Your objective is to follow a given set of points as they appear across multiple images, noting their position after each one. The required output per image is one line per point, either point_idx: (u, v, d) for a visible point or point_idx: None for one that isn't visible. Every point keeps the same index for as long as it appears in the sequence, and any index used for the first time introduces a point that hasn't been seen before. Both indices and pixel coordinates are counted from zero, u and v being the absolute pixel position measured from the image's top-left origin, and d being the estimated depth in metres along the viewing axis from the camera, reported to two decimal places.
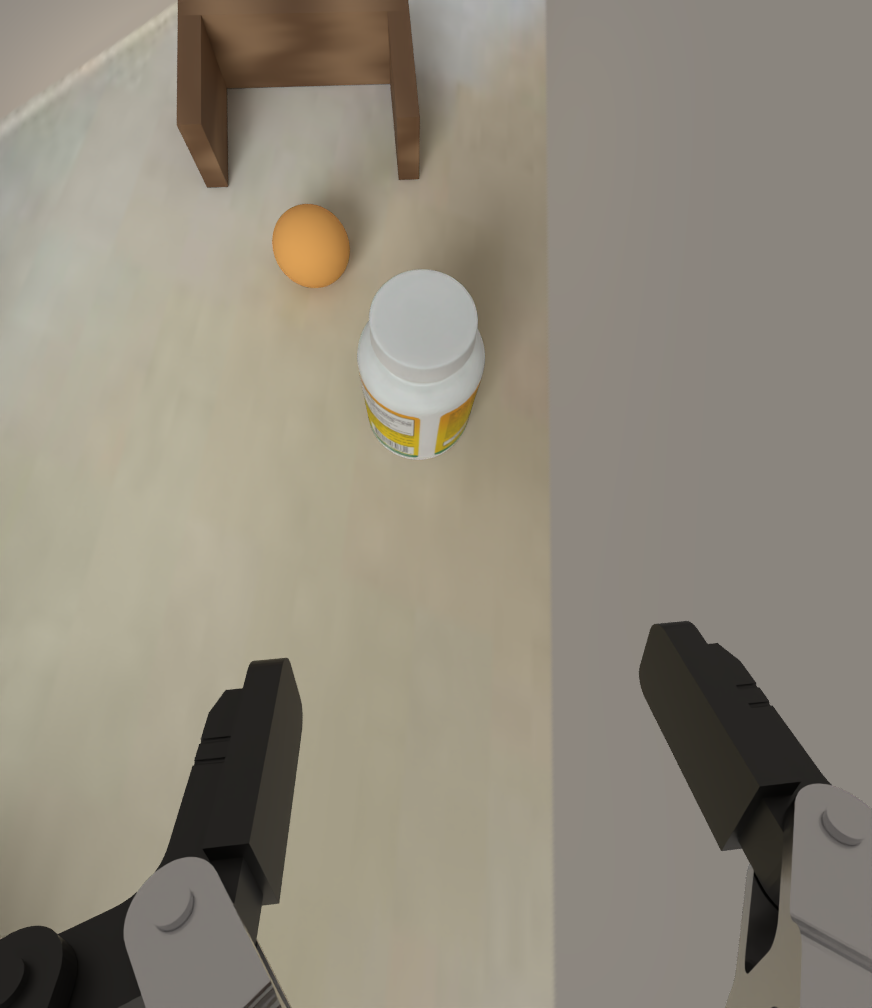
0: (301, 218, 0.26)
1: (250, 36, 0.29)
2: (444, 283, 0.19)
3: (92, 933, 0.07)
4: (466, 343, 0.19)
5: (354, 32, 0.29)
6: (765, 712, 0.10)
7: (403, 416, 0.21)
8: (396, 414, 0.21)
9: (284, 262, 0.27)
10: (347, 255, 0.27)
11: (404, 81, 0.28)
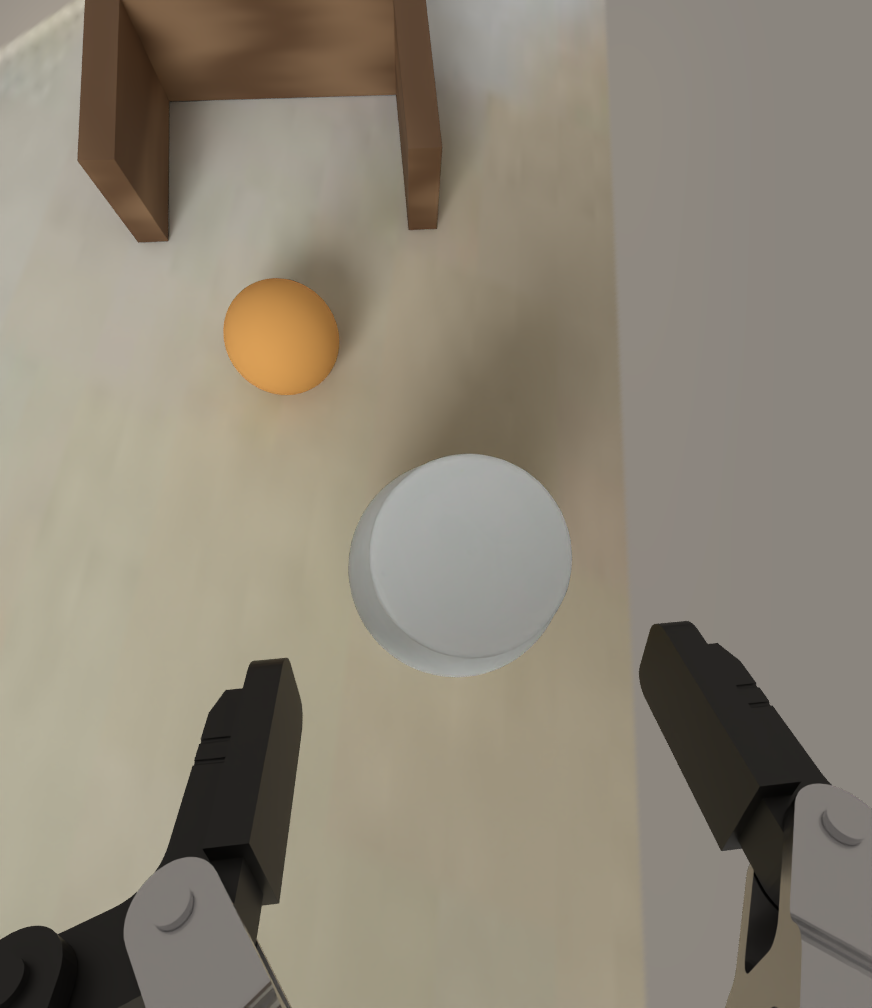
0: (264, 305, 0.17)
1: (195, 28, 0.20)
2: (508, 482, 0.10)
3: (92, 934, 0.07)
4: (552, 603, 0.10)
5: (346, 22, 0.20)
6: (765, 712, 0.10)
7: None
8: None
9: (240, 366, 0.18)
10: (335, 351, 0.19)
11: (419, 93, 0.19)
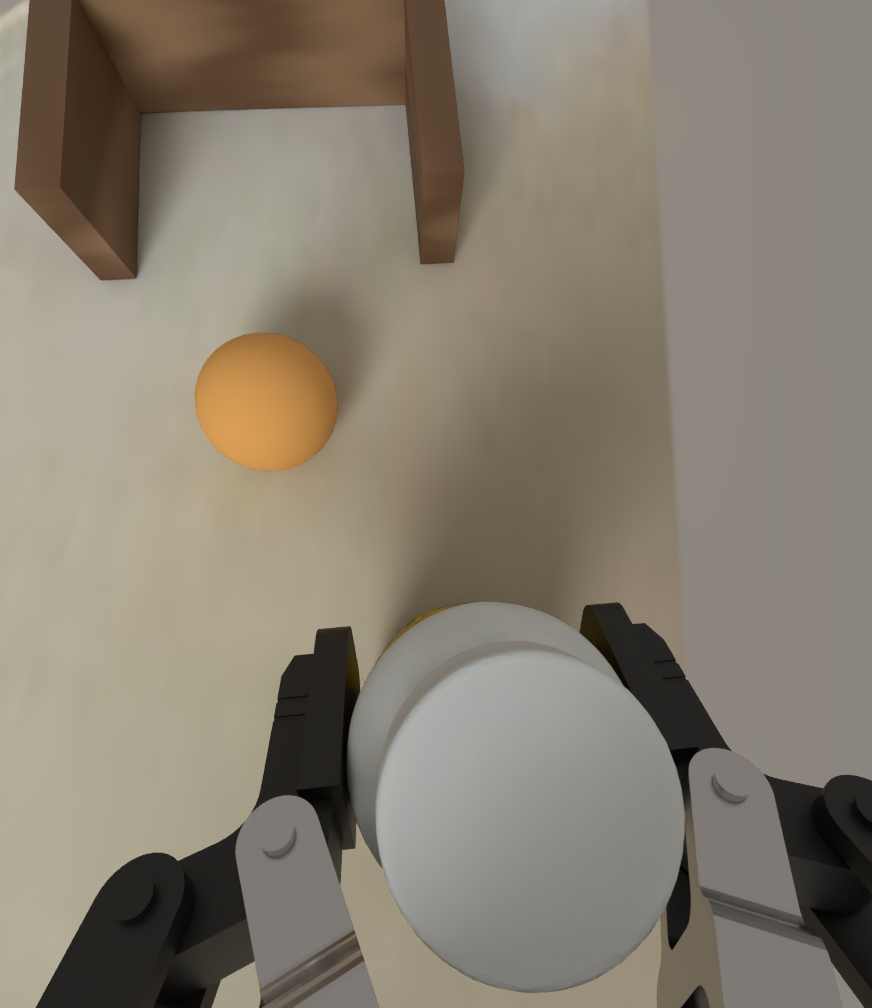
0: (243, 371, 0.13)
1: (166, 26, 0.17)
2: (586, 697, 0.07)
3: (202, 864, 0.08)
4: (659, 897, 0.06)
5: (346, 19, 0.17)
6: (680, 686, 0.10)
7: None
8: None
9: (214, 442, 0.14)
10: (333, 419, 0.15)
11: (436, 105, 0.15)
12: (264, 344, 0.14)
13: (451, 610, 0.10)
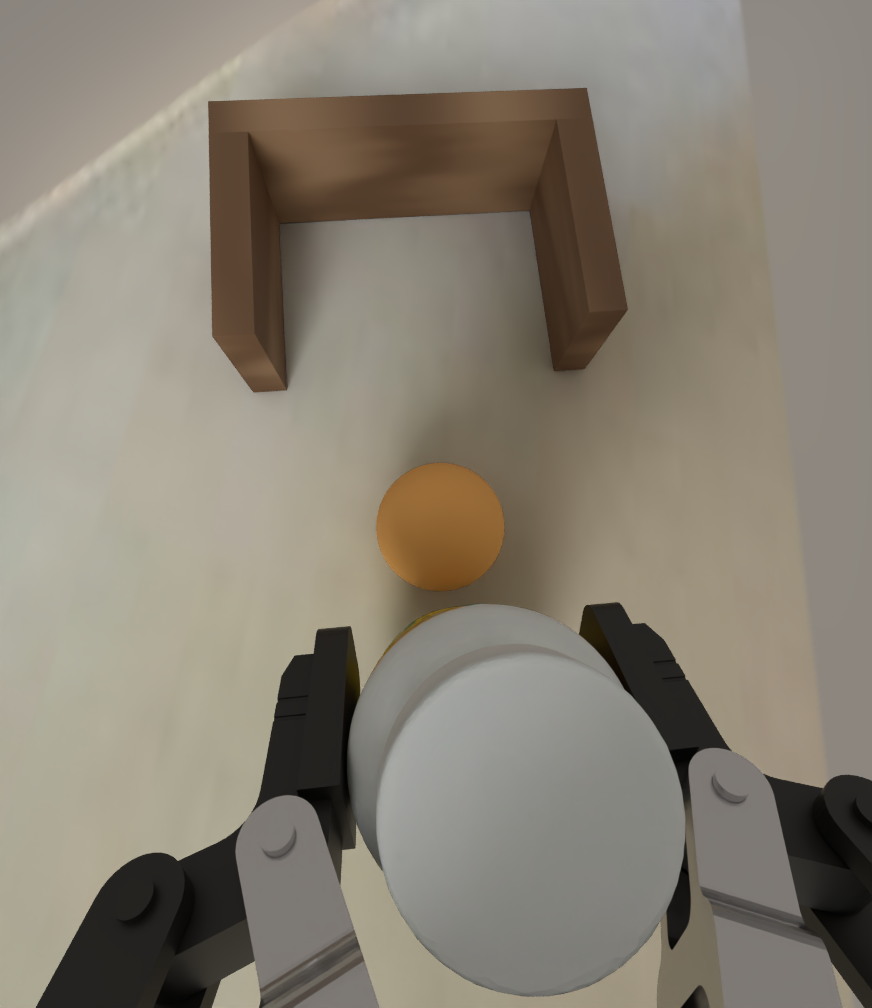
0: (439, 513, 0.14)
1: (325, 157, 0.18)
2: (587, 700, 0.07)
3: (201, 864, 0.08)
4: (659, 901, 0.06)
5: (494, 148, 0.18)
6: (680, 686, 0.10)
7: None
8: None
9: (401, 571, 0.15)
10: (502, 542, 0.16)
11: (596, 243, 0.16)
12: (452, 483, 0.15)
13: (451, 613, 0.10)
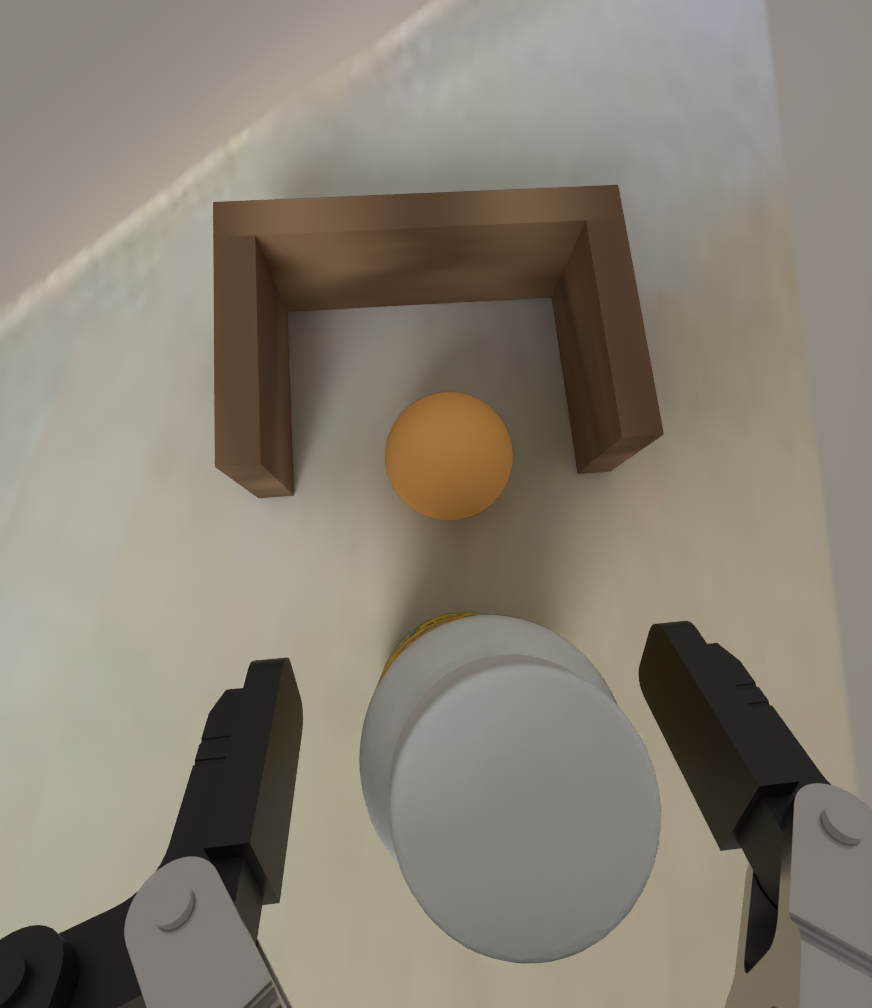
0: None
1: (338, 256, 0.17)
2: (575, 706, 0.08)
3: (93, 933, 0.07)
4: (637, 881, 0.07)
5: (518, 246, 0.17)
6: (765, 712, 0.10)
7: None
8: None
9: (402, 413, 0.16)
10: None
11: (629, 359, 0.15)
12: None
13: (455, 623, 0.11)
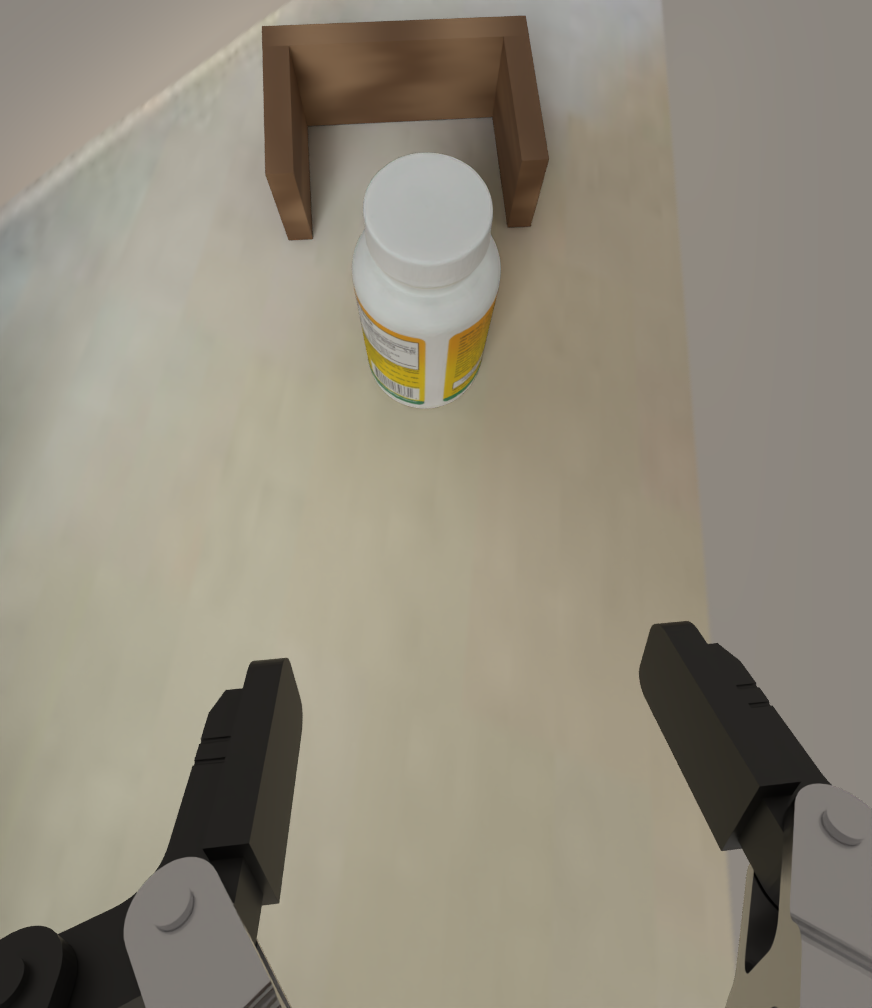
0: None
1: (342, 68, 0.25)
2: (452, 167, 0.16)
3: (92, 933, 0.07)
4: (479, 235, 0.16)
5: (461, 61, 0.25)
6: (765, 712, 0.10)
7: (405, 337, 0.18)
8: (397, 336, 0.18)
9: None
10: None
11: (528, 117, 0.23)
12: None
13: None
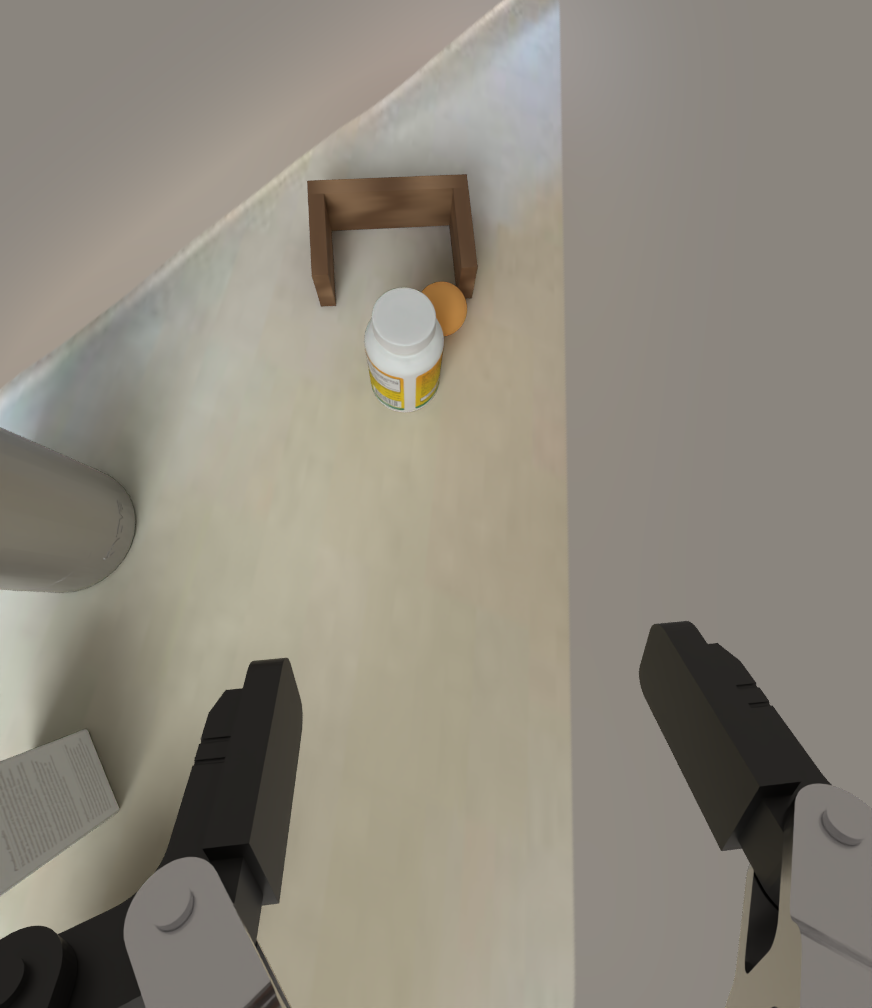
0: None
1: (355, 203, 0.41)
2: (416, 295, 0.32)
3: (92, 933, 0.07)
4: (428, 331, 0.32)
5: (428, 199, 0.41)
6: (765, 712, 0.10)
7: (393, 377, 0.35)
8: (388, 376, 0.35)
9: (460, 295, 0.39)
10: None
11: (466, 240, 0.40)
12: None
13: None
